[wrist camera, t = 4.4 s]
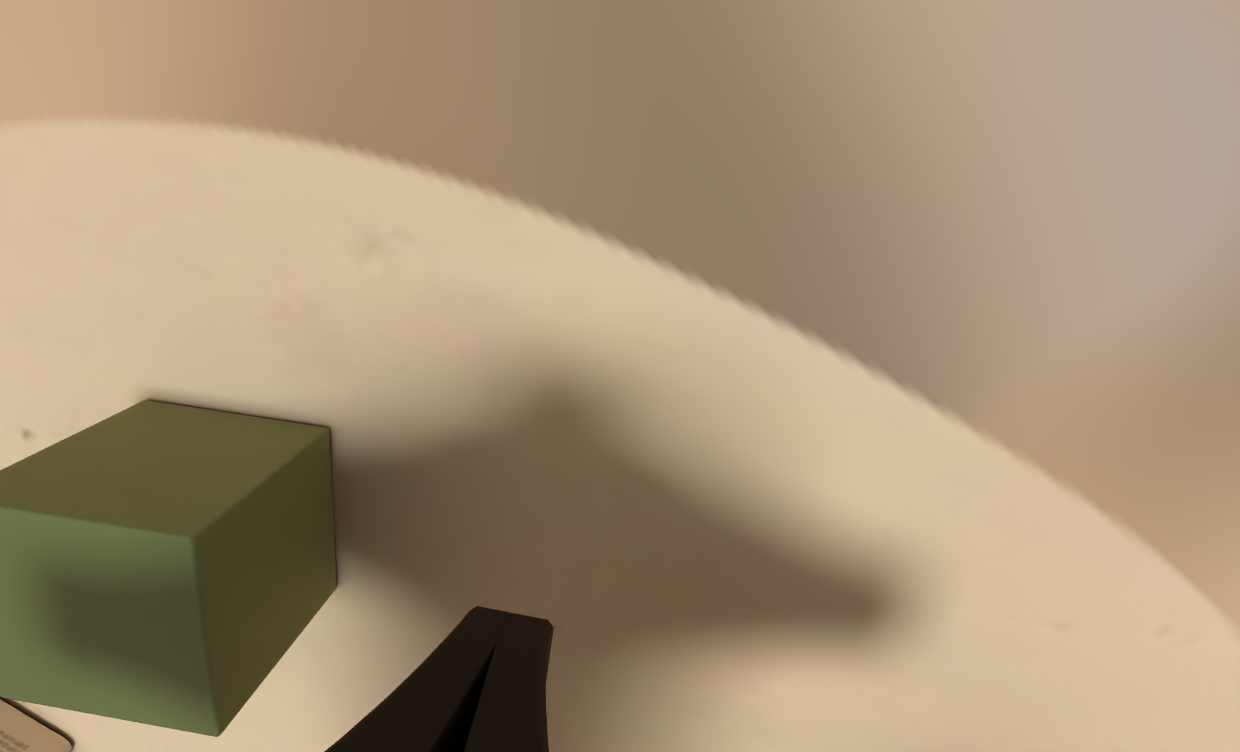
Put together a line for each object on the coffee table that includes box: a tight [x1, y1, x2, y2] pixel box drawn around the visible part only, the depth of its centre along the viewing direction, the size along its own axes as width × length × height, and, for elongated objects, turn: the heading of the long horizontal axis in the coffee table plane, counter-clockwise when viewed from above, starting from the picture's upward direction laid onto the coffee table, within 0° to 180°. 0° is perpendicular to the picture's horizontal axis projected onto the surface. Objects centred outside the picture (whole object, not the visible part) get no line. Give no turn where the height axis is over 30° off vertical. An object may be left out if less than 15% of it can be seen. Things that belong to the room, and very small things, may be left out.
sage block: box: [0, 400, 337, 737], centre depth 13 cm, size 4×4×4 cm
